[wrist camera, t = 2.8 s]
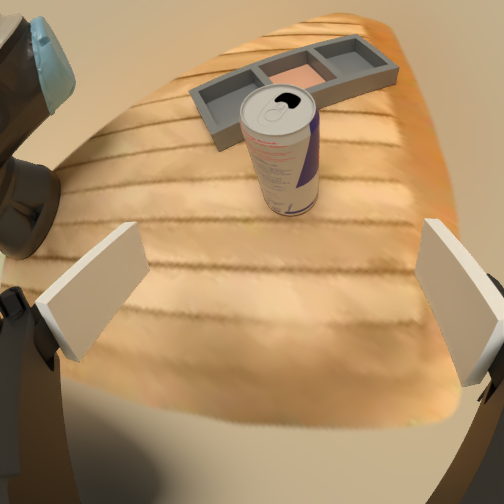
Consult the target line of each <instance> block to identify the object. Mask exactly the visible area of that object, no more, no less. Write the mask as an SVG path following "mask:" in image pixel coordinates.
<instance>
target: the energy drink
mask: <svg viewBox="0 0 504 504" xmlns="http://www.w3.org/2000/svg"><path fill="white" fill-rule="evenodd" d="M240 127H241V130H242V133H243V136H244V139H245V142H246V145H247V148H248V151H249V153H250V156H251V159H252V162H253V165H254V168H255V171H256V174H257V177H258V180H259V184H260V187H261V190H262V193H263V196H264V199H265V201H266V203H267V205H268V206H269V207H270V208H271V209H272V210H274V211H275V212H277V213H279V214H282V215H288V216H291V215H298V214H301V213H304V212H306V211H307V210H308V209H310V208H311V207H312V206H313V205H314V203H315V201H316V199H317V196H318V182H319V111H318V108H317V106H316V104H315V101H314V99H313V97H312V96H311V95H310V94H309V93H308V92H307V91H306V90H304V89H302V88H300V87H298V86H295V85H291V84H271V85H266V86H263V87H261V88H258V89H256V90H255V91H253V92H252V93H250V94H249V95H248V96H247V97H246V98H245V99H244V101H243V103H242V105H241V108H240Z"/></svg>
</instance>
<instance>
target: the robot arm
mask: <svg viewBox="0 0 504 504" xmlns="http://www.w3.org/2000/svg"><path fill="white" fill-rule="evenodd" d="M75 83H76V81H75V77H74V73H73V71H72V68H71V66H70V64H69V62H68V60H67V58H66V55H65V53H64V51H63V49H62V47H61V45H60V43H59V41H58V40H57V38H56V36H55V34H54V32H53V31H52V29H51V27H50V26H49V24H48V23H47V22H46V20H45V19H44V18H43V17H41V16H40V17H37V18H35V19H33V20H31V22H30V23H28V22H27V21H26V20H25V19H24V17H23V16H22V15H21V14H14V15H7V16H3V15H1V14H0V251H1V252H2V253H3V254H5V255H6V256H8V257H11V258H13V259H16V260H22V259H25V258H27V257H28V256H30V255H31V254H32V253H33V252H34V251H35V250H36V249H37V248H38V246H39V245H40V244H41V242H42V241H43V239H44V238H45V236H46V234H47V232H48V231H49V228H50V226H51V224H52V222H53V219H54V217H55V214H56V210H57V207H58V202H59V196H60V183H59V179H58V177H57V175H56V174H55V173H54V172H53V171H51V170H50V169H48V168H47V167H46V166H43V165H38V164H37V165H36V164H33V163H30V162H26V161H22V160H19V159H16V158H14V157H13V156H12V154H13V153H14V152H15V151H16V150H17V149H18V147H19V146H20V145H21V144H22V143H23V142H24V141H25V140H26V139H27V138H28V137H29V136H30V135H31V134H32V132H34V130H36V129H37V128H38V127H39V126H40V125H41V124H42V123H43V122H44V121H45V120H46V119H47V118H48V117H49V116H50V115H53V114H54V113H55V110H56V109H57V108H58V107H59V106H60V105H61V104H62V103H63V102H65V101H66V100H67V99H68V98H69V97H70V96H71V95H72V93H73V92H74V89H75V85H76V84H75ZM149 271H150V269H149V266H148V262H147V259H146V255H145V251H144V248H143V244H142V240H141V236H140V232H139V228H138V224H137V222H124V223H123V224H122V225H121V226H119V227H118V228H117V229H115V230H114V231H113V232H112V233H111V234H109V235H108V236H107V237H106V238H104V239H103V240H102V241H101V242H100V243H98V244H97V245H96V246H95V247H94V248H92V249H91V250H90V251H89V252H88V253H87V254H85V255H84V256H83V257H82V258H81V259H80V260H79V261H77V262H76V263H75V264H74V265H73V266H72V267H71V268H69V269H68V270H67V271H66V272H65V273H64V274H63V275H62V276H61V277H60V278H59V279H57V280H56V281H55V282H54V283H53V284H52V285H51V286H50V287H49V288H48V289H47V290H46V291H45V292H44V293H43V294H42V295H41V296H40V297H39V298H38V299H37V300H35V304H34V305H33V306H32V307H31V308H30V306H29V304H28V302H27V300H26V298H25V296H24V294H23V292H22V290H21V288H20V287H12V288H9V289H7V290H5V291H4V292H3V293H1V294H0V312H1V313H2V315H3V317H4V318H3V319H2V318H1V317H0V504H81V502H80V499H79V495H78V492H77V488H76V484H75V480H74V475H73V471H72V466H71V461H70V456H69V451H68V445H67V439H66V432H65V425H64V417H63V408H62V396H61V383H60V359H59V356H58V355H57V353H56V351H57V350H58V349H59V347H60V348H61V350H62V351H63V353H64V355H65V356H66V358H68V359H71V360H74V361H77V362H80V361H81V360H82V358H83V357H84V355H85V354H86V353H87V351H88V350H89V348H90V347H91V346H92V344H93V343H94V342H95V340H96V339H97V338H98V336H99V335H100V333H101V332H102V331H103V329H104V328H105V327H106V325H107V324H108V323H109V322H110V320H111V319H112V318H113V316H114V315H115V314H116V312H117V311H118V310H119V308H120V307H121V306H122V305H123V303H124V302H125V301H126V300H127V298H128V297H129V296H130V294H131V293H132V292H133V291H134V289H135V288H136V287H137V286H138V284H139V283H140V282H141V281H142V280H143V278H144V277H145V276H146V275H147V273H148V272H149ZM414 274H415V276H416V278H417V280H418V282H419V284H420V286H421V288H422V290H423V292H424V294H425V296H426V298H427V301H428V303H429V305H430V307H431V309H432V311H433V314H434V316H435V318H436V320H437V323H438V325H439V327H440V330H441V332H442V335H443V337H444V340H445V342H446V345H447V347H448V350H449V352H450V355H451V357H452V360H453V363H454V366H455V368H456V371H457V374H458V377H459V380H460V383H461V386H462V387H466V386H470V385H475V384H480V383H481V381H482V380H483V378H484V377H485V375H486V373H487V372H489V374H490V377H491V379H492V380H491V381H490V383H489V384H488V386H487V387H486V388H485V390H484V391H483V393H482V394H481V395H480V397H479V399H478V400H477V401H480V400H481V399H482V401H481V403H480V406H479V408H478V411H477V413H476V415H475V417H474V420H473V422H472V424H471V427H470V428H469V431H468V433H467V435H466V437H465V439H464V441H463V443H462V445H461V447H460V449H459V450H458V452H457V454H456V456H455V458H454V460H453V462H452V463H451V465H450V467H449V468H448V470H447V472H446V473H445V475H444V477H443V478H442V480H441V481H440V483H439V485H438V486H437V488H436V489H435V491H434V492H433V494H432V495H431V496H430V498H429V499H428V501H427V502H426V504H504V288H503V287H502V285H501V284H500V283H499V282H498V281H497V280H496V279H495V278H493V277H492V276H491V275H490V274H486V273H485V272H484V271H483V270H482V268H481V267H480V266H479V264H478V263H477V262H476V261H475V260H474V258H473V257H472V256H471V255H470V254H469V252H468V251H467V250H466V249H465V248H464V246H463V245H462V244H461V243H460V242H459V241H458V240H457V238H456V237H455V236H454V235H453V234H452V233H451V232H450V231H449V229H448V228H447V227H446V226H445V225H444V224H443V223H442V222H441V221H440V220H439V219H426V218H424V221H423V228H422V235H421V241H420V246H419V252H418V257H417V262H416V267H415V272H414Z"/></svg>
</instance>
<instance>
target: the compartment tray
mask: <svg viewBox="0 0 504 504" xmlns="http://www.w3.org/2000/svg"><path fill="white" fill-rule="evenodd" d="M398 71H399V67H398V66H397V65H396V64H395V63H394V62H392V61H391V60H390V59H389V58H388V57H386V56H385V55H384V54H383V53H381V52H380V51H379V50H378V49H376V48H375V47H374V46H372V45H371V44H370V43H369V42H367V41H366V40H364V39H363V38H362V37H360V36H359V35H358V34H354V35H349V36H344V37H340V38H335V39H331V40H327V41H323V42H319V43H315V44H311V45H308V46H304V47H301V48H297V49H294V50H291V51H287V52H284V53H281V54H278V55H275V56H272V57H269V58H266V59H263V60H261V61H258V62H255V63H252V64H250V65H247V66H245V67H242V68H239V69H237V70H234V71H232V72H230V73H227V74H225V75H222V76H220V77H218V78H215V79H213V80H211V81H209V82H207V83H204V84H202V85H200V86H198V87H196V88H194V89H192V90H190V91H189V93H190V95H191V97H192V99H193V101H194V103H195V105H196V107H197V109H198V111H199V113H200V114H201V116H202V118H203V120H204V122H205V124H206V126H207V128H208V130H209V132H210V134H211V136H212V138H213V140H214V142H215V144H216V146H217V148H218V150H219V152H220V151H222V150H224V149H226V148H228V147H230V146H233V145H235V144H237V143H239V142H241V141H243V140H245V139H244V136H243V133H242V130H241V127H240V108H241V105H242V103H243V101H244V99H245V98H246V97H247V96H248V95H249V94H250V93H252V92H253V91H255V90H256V89H258V88H261V87H263V86H266V85H271V84H291V85H295V86H298V87H300V88H302V89H304V90H306V91H307V92H308V93H309V94H310V95H311V96H312V97H313V99H314V101H315V104H316V106H317V108H318V109H321V108H323V107H326V106H329V105H332V104H335V103H337V102H340V101H343V100H346V99H349V98H352V97H355V96H358V95H361V94H364V93H368V92H371V91H374V90H377V89H381V88H384V87H387V86H391V85H394V84H396V80H397V76H398Z"/></svg>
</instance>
